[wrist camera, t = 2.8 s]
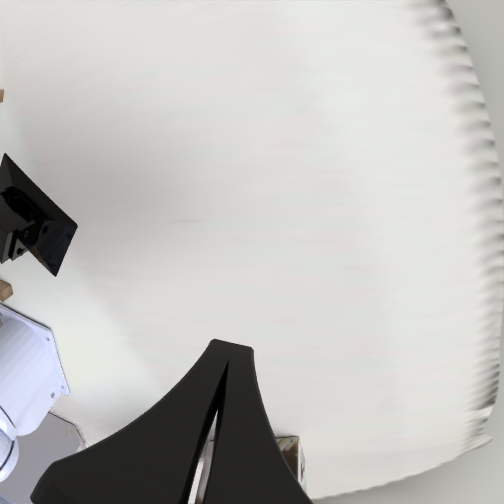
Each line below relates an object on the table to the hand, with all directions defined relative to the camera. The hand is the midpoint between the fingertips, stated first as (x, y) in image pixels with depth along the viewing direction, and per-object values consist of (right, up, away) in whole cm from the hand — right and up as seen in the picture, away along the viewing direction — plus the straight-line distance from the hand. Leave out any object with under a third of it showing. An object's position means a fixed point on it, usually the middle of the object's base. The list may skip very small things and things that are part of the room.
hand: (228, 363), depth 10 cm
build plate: (-16, +7, +9) cm, 20 cm away
